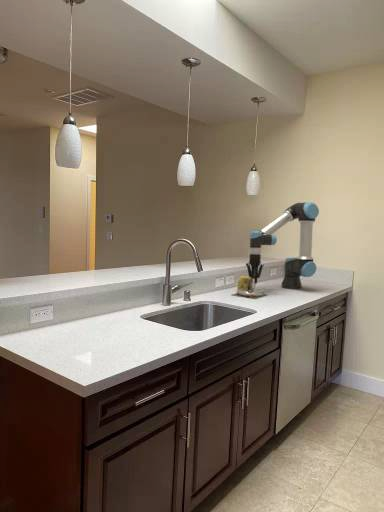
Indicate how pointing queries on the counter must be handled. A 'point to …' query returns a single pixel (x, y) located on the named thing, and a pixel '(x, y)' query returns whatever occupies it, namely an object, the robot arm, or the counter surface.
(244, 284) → the cheese
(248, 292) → the metal dish with post
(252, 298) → the base plate
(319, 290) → the counter surface
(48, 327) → the counter surface
